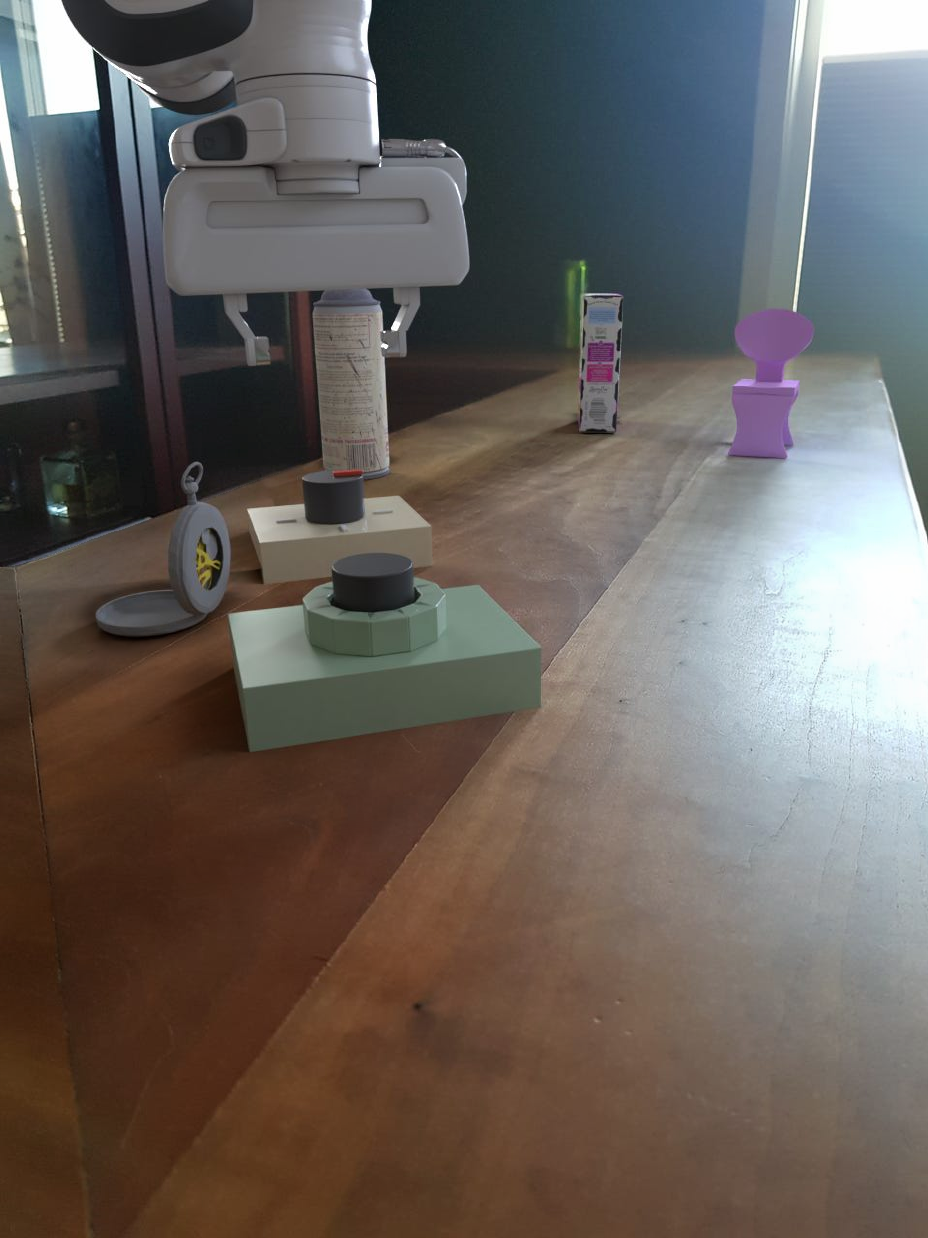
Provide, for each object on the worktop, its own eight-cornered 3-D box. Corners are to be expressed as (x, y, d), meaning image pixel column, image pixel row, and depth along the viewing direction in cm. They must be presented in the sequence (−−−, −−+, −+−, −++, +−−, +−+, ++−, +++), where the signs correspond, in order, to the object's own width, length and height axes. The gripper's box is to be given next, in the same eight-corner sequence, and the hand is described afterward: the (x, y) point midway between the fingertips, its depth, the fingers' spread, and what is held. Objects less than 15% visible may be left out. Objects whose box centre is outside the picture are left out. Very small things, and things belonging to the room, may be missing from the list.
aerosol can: (403, 471, 99) (395, 267, 92) (353, 483, 94) (340, 269, 87) (360, 463, 103) (349, 268, 96) (310, 474, 99) (294, 269, 91)
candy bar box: (618, 433, 118) (624, 294, 112) (578, 433, 118) (582, 295, 112) (614, 419, 128) (619, 291, 122) (577, 419, 129) (580, 292, 123)
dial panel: (263, 584, 65) (259, 540, 64) (250, 546, 74) (246, 506, 73) (432, 566, 68) (431, 523, 67) (400, 531, 77) (399, 493, 76)
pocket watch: (94, 613, 60) (68, 456, 56) (228, 594, 63) (212, 444, 59) (103, 659, 53) (74, 483, 49) (253, 635, 56) (236, 467, 52)
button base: (249, 753, 42) (238, 650, 41) (233, 668, 51) (223, 581, 50) (541, 708, 46) (542, 612, 44) (478, 636, 55) (477, 554, 53)
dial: (309, 526, 67) (306, 480, 66) (301, 512, 71) (297, 468, 70) (370, 520, 68) (368, 475, 67) (359, 506, 72) (356, 464, 71)
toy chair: (717, 455, 104) (728, 311, 99) (728, 441, 111) (739, 307, 106) (796, 459, 101) (812, 311, 96) (803, 445, 108) (817, 307, 103)
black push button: (341, 621, 45) (339, 580, 44) (328, 595, 48) (325, 556, 48) (423, 611, 46) (421, 571, 45) (404, 586, 49) (402, 548, 49)
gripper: (452, 144, 66) (458, 349, 71) (147, 144, 61) (177, 365, 66) (479, 132, 61) (484, 355, 65) (146, 131, 55) (178, 374, 60)
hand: (327, 360), depth 66 cm, fingers open, 8 cm apart
